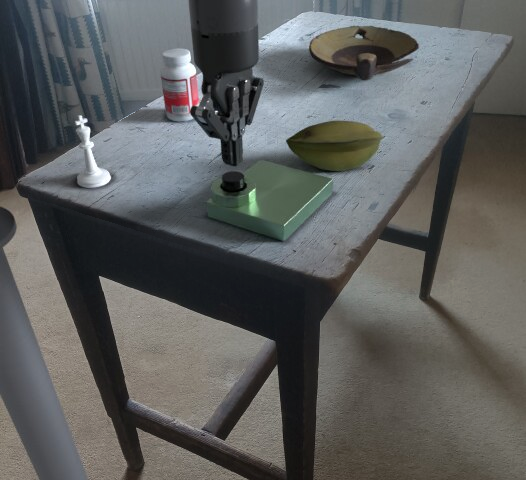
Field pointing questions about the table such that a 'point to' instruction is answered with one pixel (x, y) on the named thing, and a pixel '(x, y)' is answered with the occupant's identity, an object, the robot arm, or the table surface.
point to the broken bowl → (362, 50)
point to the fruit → (335, 145)
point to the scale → (270, 199)
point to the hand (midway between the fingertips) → (232, 163)
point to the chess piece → (89, 160)
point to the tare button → (233, 181)
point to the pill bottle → (179, 84)
